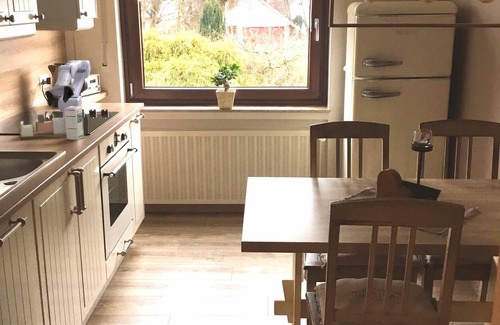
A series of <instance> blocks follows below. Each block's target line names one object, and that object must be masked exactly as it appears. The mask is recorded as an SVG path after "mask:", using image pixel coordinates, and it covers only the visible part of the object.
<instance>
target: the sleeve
mask: <svg viewBox="0 0 500 325" xmlns="http://www.w3.org/2000/svg"><path fill="white" fill-rule="evenodd" d="M51 119H52V120H51V121H53V134H54V135H57V134H67V132H66V121H65V117H63V116H62V117H52V118H51Z"/></svg>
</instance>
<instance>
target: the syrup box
mask: <svg viewBox="0 0 500 325" xmlns="http://www.w3.org/2000/svg"><path fill="white" fill-rule="evenodd" d="M83 118H84V117H83V108H82V106H81V107H80V106H70V107H68V108H65V121H66V132H67V137H66V140H75V141H79V140H81V139H83V138H85V130H84V119H83Z"/></svg>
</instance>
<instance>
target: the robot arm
mask: <svg viewBox="0 0 500 325" xmlns="http://www.w3.org/2000/svg"><path fill="white" fill-rule="evenodd" d="M91 66H92V65H91V61H89V60H72V59H71V60H69V61H67V63H65V64H64V65H63V64H61V65H60V66H58V68H57V69H58V70H57V71H58V72H57V78H56V82H55V83H54V86H53V87H51V88H50V89H49V90H46V91H45V92H44V95H45V97H46V102H47V103H46V104H47V106H49V107H52V105H53V103H54V101H55V100H56V96H58V97H60V98H58V100H57V101H58V102H57V107H58V110H59V111H61V113H62V118H63V117H65V108H68V107H70V106H80V107H82V102H83V101H82V98H81V96H80V93H81V91H82V88H83V85H84V83H85V80H86V79H88V78H89V76H90V73H91ZM71 79H73V80H72V83H71ZM70 83H71V84H70Z"/></svg>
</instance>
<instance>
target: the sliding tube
mask: <svg viewBox="0 0 500 325" xmlns="http://www.w3.org/2000/svg"><path fill="white" fill-rule="evenodd" d="M34 123H35V132H48V131H53V121H52V120H49V121H48V120H46V121H45V117H44V114H43V113H42V114H37V121H35V122H34Z"/></svg>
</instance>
